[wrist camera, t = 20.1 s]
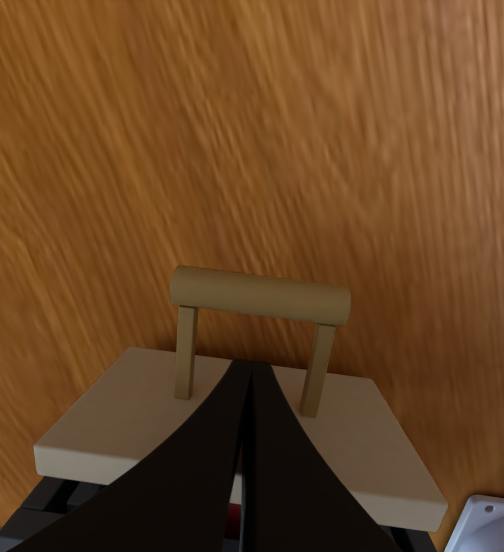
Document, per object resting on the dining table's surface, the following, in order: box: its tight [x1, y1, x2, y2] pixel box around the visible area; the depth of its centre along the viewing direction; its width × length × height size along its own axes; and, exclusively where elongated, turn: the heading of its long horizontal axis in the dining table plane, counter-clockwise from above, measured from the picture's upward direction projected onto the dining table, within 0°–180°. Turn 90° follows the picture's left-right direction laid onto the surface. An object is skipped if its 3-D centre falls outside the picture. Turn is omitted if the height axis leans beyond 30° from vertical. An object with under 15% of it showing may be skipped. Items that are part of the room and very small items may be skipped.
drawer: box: [33, 265, 448, 542], centre depth 12 cm, size 20×12×6 cm, turn 173°
